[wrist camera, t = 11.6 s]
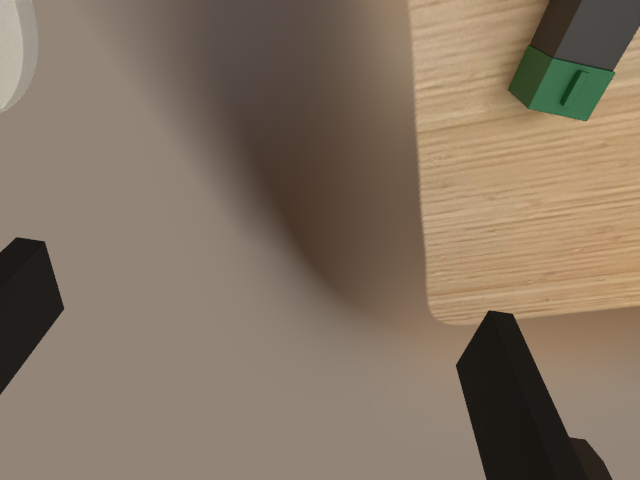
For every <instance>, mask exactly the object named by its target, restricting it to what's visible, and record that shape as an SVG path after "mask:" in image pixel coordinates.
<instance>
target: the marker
mask: <svg viewBox="0 0 640 480" xmlns="http://www.w3.org/2000/svg"><path fill="white" fill-rule="evenodd" d="M639 26H640V0H550V3H549V5H548V7H547V9H546V11H545V13H544V16H543V18H542V20H541V22H540V24H539V27H538V29H537V31H536V33H535V35H534V38H533V40H532V42H531V44H530V45H528V48H527V50H526V52H525V54H524V56H523V59H522V61H521V63H520V65H519V67H518V69H517V72H516V74H515V76H514V78H513V80H512V83H511V85H510V87H509V89H508V91H510V92H511V93H512V94H513V95H514V96H515V97H516V98H517V99H518V100H519V101H520V102H521V103H523V104H524V105H525V106H526V107H527V108H528V109H532V110H537V111H541V112H546V113H550V114H555V115H560V116H564V117H569V118H574V119H578V120H583V121H587V120H588V118H589V117H590V115H591V113H592V112H593V110H594V108H595V107H596V105H597V103H598V101H599V100H600V98H601V96H602V95H603V93H604V91H605V90H606V88H607V86H608V85H609V83H610V81H611V80H612V78H613V76H614V75H615V72H613V70H614V69H615V67H616V65H617V63H618V62H619V60H620V58H621V57H622V55H623V53H624V52H625V50H626V48H627V46H628V45H629V43H630V41H631V40H632V38H633V36H634V35H635V33H636V31H637V30H638V28H639Z"/></svg>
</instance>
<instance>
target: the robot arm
mask: <svg viewBox="0 0 640 480" xmlns="http://www.w3.org/2000/svg"><path fill="white" fill-rule="evenodd" d="M63 310H64V306H63V303H62V299H61V296H60V292H59V289H58V285H57V282H56V279H55V275H54V272H53V269H52V265H51V261H50V258H49V255H48V251H47V248H46V244H45V242H44V241H38V240H31V239H25V238H18V237H17V238H15V239H14V240H13V241H12V242H11V243H10V244H9V245H8V246H7V247H6V248H5V249H3V250H2V251H1V252H0V394H1V393H2V392H3V390H4V389H5V388H6V386H7V385H8V384H9V382H10V381H11V379H12V378H13V377H14V375H15V374H16V373H17V372H18V370H19V369H20V368H21V366H22V365H23V363H24V362H25V361H26V360H27V358H28V357H29V355H30V354H31V353H32V351H33V350H34V349H35V347H36V346H37V345H38V343H39V342H40V341H41V339H42V338H43V336H44V335H45V334H46V332H47V331H48V330H49V329H50V327H51V326H52V325H53V323H54V322H55V321H56V319H57V318H58V317H59V315H60V314H61V312H62V311H63ZM456 367H457V371H458V375H459V379H460V382H461V386H462V390H463V394H464V398H465V401H466V405H467V408H468V412H469V416H470V420H471V424H472V427H473V431H474V434H475V438H476V442H477V446H478V449H479V453H480V457H481V461H482V465H483V468H484V472H485V476H486V480H612V478H611V476H610V474H609V472H608V470H607V468H606V466H605V464H604V462H603V461H602V459H601V458H600V457H599V456H598V455H597V453H596V452H595V451H594V450H593V448H592V447H591V446H590V445H589V444H588V442H587V441H586V440H584V439H577V438H570V437H569V436H568V434H567V432H566V430H565V427H564V425H563V423H562V421H561V419H560V417H559V414H558V412H557V410H556V408H555V406H554V403H553V401H552V399H551V397H550V395H549V393H548V390H547V388H546V386H545V383H544V382H543V379H542V377H541V375H540V373H539V370H538V368H537V366H536V364H535V362H534V359H533V357H532V355H531V353H530V351H529V348H528V346H527V344H526V342H525V340H524V337H523V335H522V333H521V331H520V329H519V326H518V324H517V322H516V320H515V318H514V315H513V314H510V313H503V312H497V311H490V310H489V311H488V313H487V314H486V316H485V318H484V319H483V321H482V323H481V324H480V326H479V328H478V329H477V331H476V333H475V334H474V336H473V338H472V339H471V341H470V343H469V344H468V346H467V348H466V349H465V351H464V353H463V354H462V356H461V358H460V359H459V361H458V363H457V364H456Z"/></svg>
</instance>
